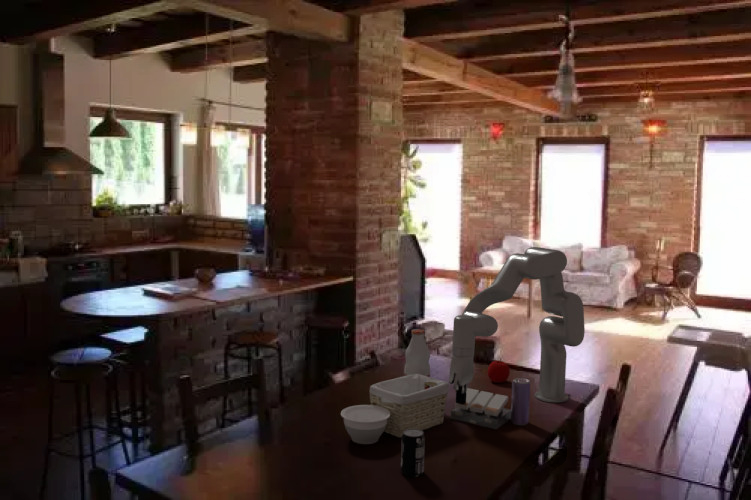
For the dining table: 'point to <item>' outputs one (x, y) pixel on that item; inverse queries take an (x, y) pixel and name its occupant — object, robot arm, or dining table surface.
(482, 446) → the dining table surface
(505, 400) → the rocker
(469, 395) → the rocker
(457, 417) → the switch unit
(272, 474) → the dining table surface
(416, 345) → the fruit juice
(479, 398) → the rocker
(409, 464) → the beverage can
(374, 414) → the bowl
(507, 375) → the fruit
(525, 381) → the beverage can
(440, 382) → the storage basket
